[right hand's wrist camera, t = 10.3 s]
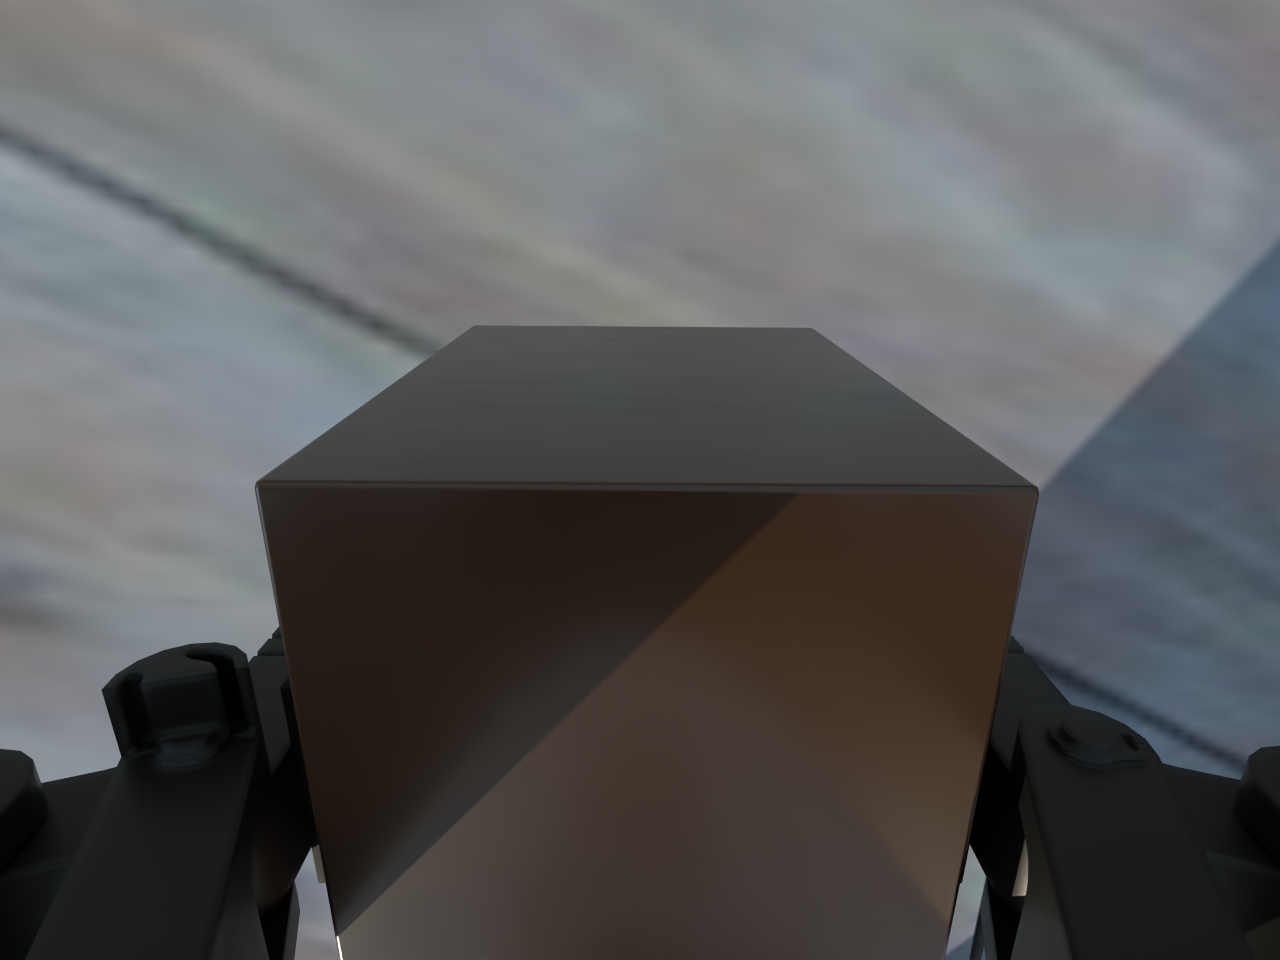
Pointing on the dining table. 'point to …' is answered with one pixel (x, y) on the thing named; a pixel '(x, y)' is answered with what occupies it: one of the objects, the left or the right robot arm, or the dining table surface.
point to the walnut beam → (644, 649)
